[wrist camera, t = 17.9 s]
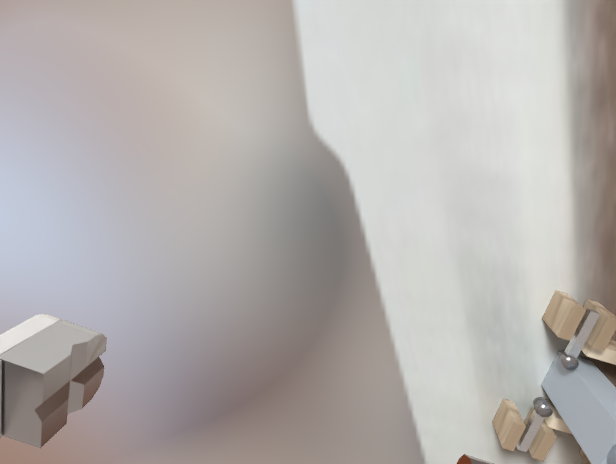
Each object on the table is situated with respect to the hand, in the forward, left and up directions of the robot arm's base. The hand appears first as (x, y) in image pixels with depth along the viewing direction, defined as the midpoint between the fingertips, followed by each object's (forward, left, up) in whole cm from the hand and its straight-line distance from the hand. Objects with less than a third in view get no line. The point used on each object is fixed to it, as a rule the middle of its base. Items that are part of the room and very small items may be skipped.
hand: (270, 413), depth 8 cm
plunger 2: (-15, +18, -27) cm, 35 cm away
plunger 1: (-9, +26, -27) cm, 38 cm away
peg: (-14, +24, -29) cm, 40 cm away
